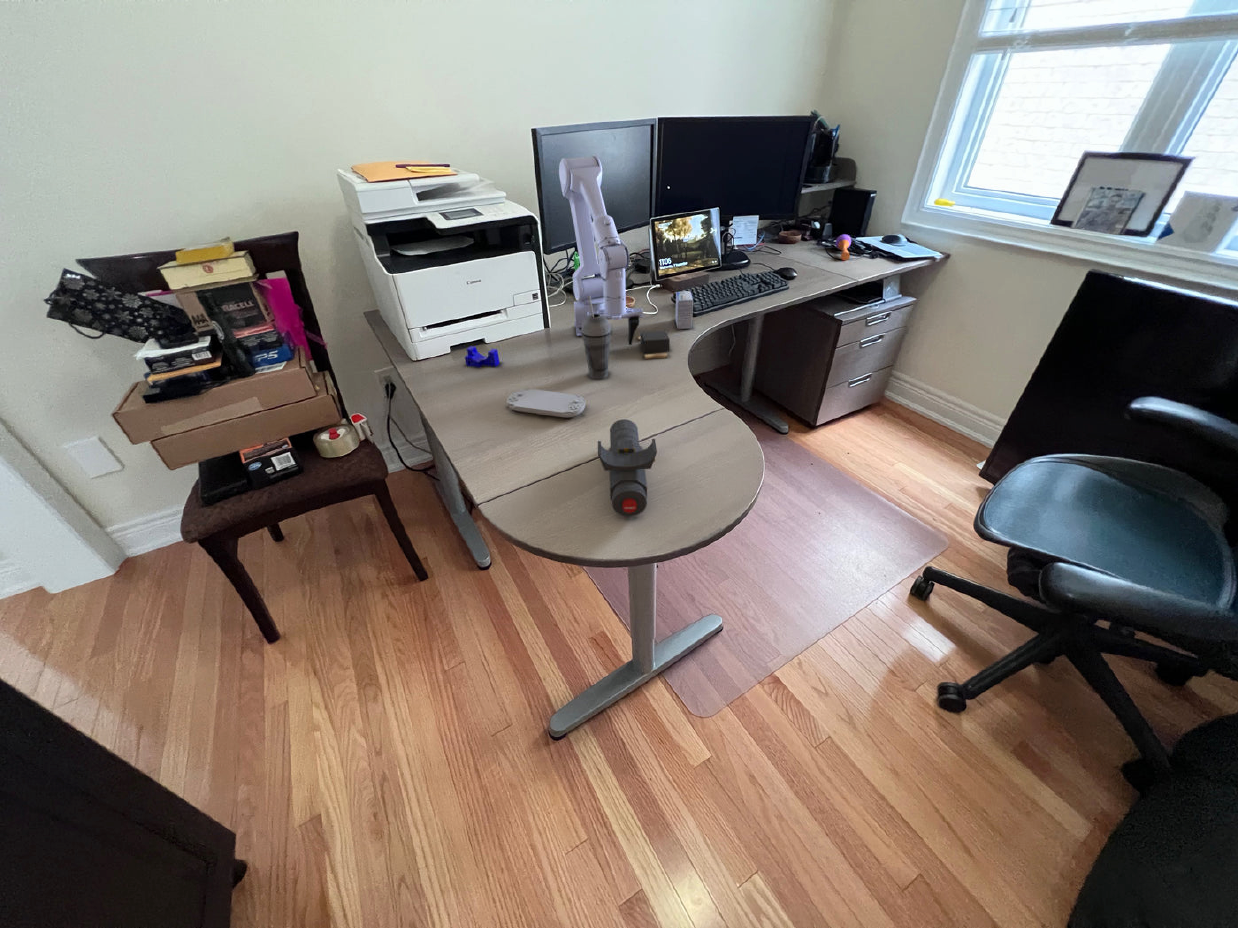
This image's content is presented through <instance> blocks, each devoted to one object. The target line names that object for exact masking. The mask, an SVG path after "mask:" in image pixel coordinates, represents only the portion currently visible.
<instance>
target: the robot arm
mask: <svg viewBox="0 0 1238 928" xmlns="http://www.w3.org/2000/svg"><path fill="white" fill-rule="evenodd" d="M558 176H559V182H560V183H559V184H560V187H561V192H562V196H563V198H565V199H568V202H569V206H570V209H571V216H572V217H571V218H572V222H573V223H572V224H573V229H574V234H575V241H576V246H577V247H576V248H577V253H578V258H579V267H578V268H577V269H576V270H575V271H574V272H573V274H572V292H573V295H574V298H575V299H576V301H573V309H574V322H573V323H574V328H575V332H576V337H582V334H581V331H582V325H583V322H584V320H585V319H586V318H587V317H588V316H590V315H591V310H590V304H589V298H588V296H590V297H591V303H592V309H593V314H600V315H602V316H604V317H605V318H606V319H607V320H608V321H609V320H613V321H617V320H623V319H627V323H628V325H627V326H628V334H627V342H628V345H629V346H633V339H634V336H635V333H636V332H637V331H636V330H637V329H638V327H639V325H640V319H644V310H643V308H632V307H627V286H626V283H627V282H626V281H627V280H626V269H627V268H628V267H629V265H630V252H629V249H628V245H627V244H626V243H625V242H624V240H623V239H620V236H619V233H618V231H617V227H616V224H615V222H614V219H613V217H612V216H611V215H608V214H607V210H606V206H605V202H604V197H603V194H602V190H601V189H602V188H601V185H602V181H603V166H602V162H601V160H600V158H599V157H598V156H597V155H593V156H586V157H585V156H583V157H572V158H564V157H563V158H562V159H561V160H560V162H559V167H558ZM596 246H597V249H598V254H597V249H596ZM592 275H593V276H592ZM594 275H595V276H594Z"/></svg>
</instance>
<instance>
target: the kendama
mask: <svg viewBox="0 0 1238 928" xmlns="http://www.w3.org/2000/svg"><path fill="white" fill-rule="evenodd" d="M851 245H852V238H851V236H850V235H848V234H841V235H839V236H838V237H837V238H836V240H835V247H836V248H837V250H840V251H841V253H840V260H841V261H843V262H845V261H849V259H850V258H851V256H850V252H849V250H848V248H850V246H851Z"/></svg>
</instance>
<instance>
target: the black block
mask: <svg viewBox="0 0 1238 928" xmlns="http://www.w3.org/2000/svg"><path fill="white" fill-rule="evenodd" d="M640 337H641V341H640V346H641V348H642V352H643V353H644V354H645V353H646V354H649V353H663V352H670V337H669V335H668V333H667V331H666V330H651V331H640Z"/></svg>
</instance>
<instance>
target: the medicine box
mask: <svg viewBox="0 0 1238 928" xmlns="http://www.w3.org/2000/svg"><path fill="white" fill-rule="evenodd" d="M693 310H694V299H693V296H692V292H691V291H684V290H683V291H676V294H675V314H674V315H675V316H674V317H675V323H676V329H678V330H687V329H688V330H689V329H691V330H692V329H693Z"/></svg>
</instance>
